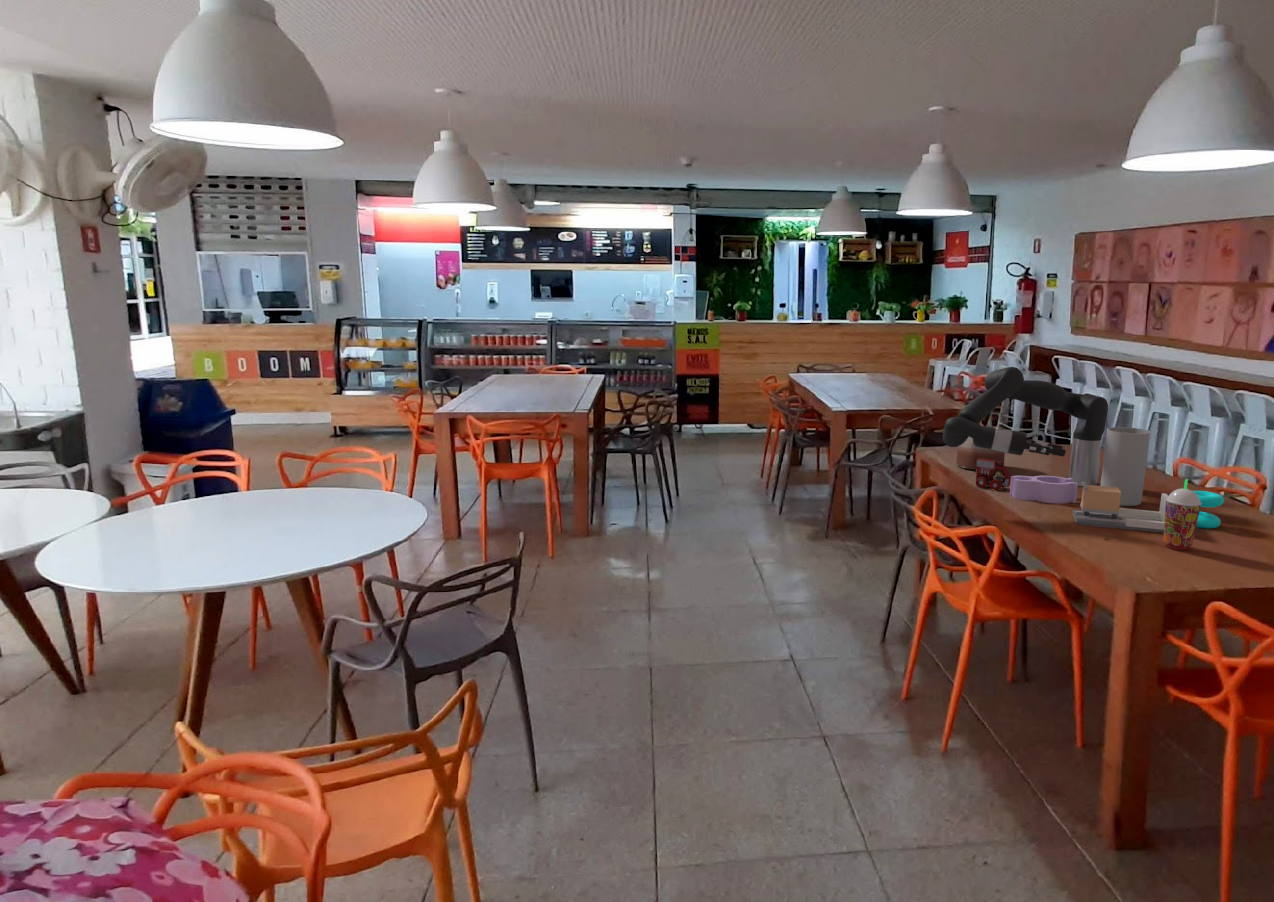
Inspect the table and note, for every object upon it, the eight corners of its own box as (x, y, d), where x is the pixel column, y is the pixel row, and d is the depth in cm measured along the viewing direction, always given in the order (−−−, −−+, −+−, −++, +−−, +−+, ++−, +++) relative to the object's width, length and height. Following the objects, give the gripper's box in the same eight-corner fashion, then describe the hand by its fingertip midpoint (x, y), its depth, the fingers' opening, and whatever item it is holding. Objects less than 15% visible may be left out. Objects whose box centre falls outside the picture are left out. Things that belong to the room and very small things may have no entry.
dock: (1072, 512, 263) (1075, 486, 261) (1162, 521, 253) (1166, 493, 251) (1076, 524, 250) (1079, 496, 248) (1171, 533, 240) (1175, 504, 238)
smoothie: (1152, 543, 232) (1161, 476, 228) (1179, 542, 232) (1189, 475, 228) (1174, 552, 224) (1183, 483, 219) (1202, 551, 224) (1212, 482, 220)
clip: (1014, 501, 277) (1016, 482, 276) (1007, 492, 289) (1009, 473, 287) (1078, 505, 272) (1080, 485, 271) (1068, 495, 284) (1070, 476, 282)
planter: (1006, 465, 330) (1010, 428, 326) (999, 474, 315) (1003, 435, 312) (961, 460, 339) (963, 424, 336) (952, 469, 324) (955, 430, 321)
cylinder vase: (1102, 505, 271) (1111, 432, 266) (1095, 496, 283) (1103, 426, 278) (1145, 508, 267) (1154, 434, 262) (1136, 499, 279) (1145, 428, 273)
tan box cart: (1078, 510, 259) (1081, 481, 257) (1115, 513, 255) (1118, 484, 253) (1081, 516, 252) (1084, 486, 250) (1118, 519, 248) (1122, 489, 246)
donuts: (1184, 488, 254) (1223, 492, 249) (1180, 518, 256) (1218, 523, 251) (1185, 495, 246) (1226, 499, 240) (1181, 526, 248) (1221, 531, 242)
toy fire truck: (1005, 492, 288) (1007, 464, 286) (970, 486, 297) (973, 459, 294) (1012, 489, 293) (1015, 461, 291) (978, 483, 302) (980, 456, 299)
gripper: (1012, 432, 252) (1069, 442, 247) (1010, 427, 265) (1064, 437, 260) (1006, 455, 254) (1063, 466, 248) (1005, 449, 267) (1058, 459, 261)
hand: (1063, 451), depth 254 cm, fingers open, 8 cm apart
